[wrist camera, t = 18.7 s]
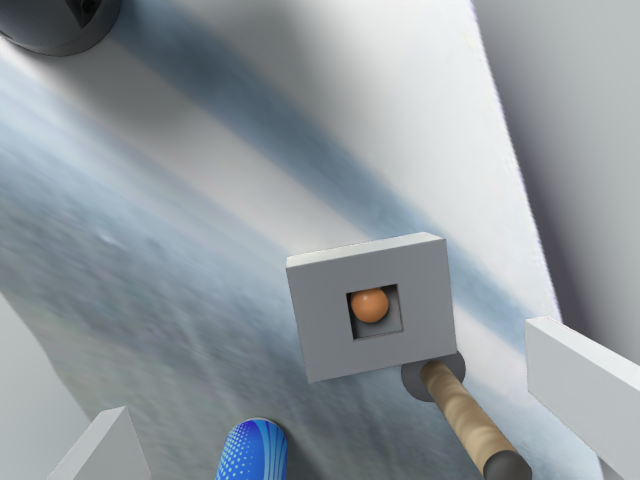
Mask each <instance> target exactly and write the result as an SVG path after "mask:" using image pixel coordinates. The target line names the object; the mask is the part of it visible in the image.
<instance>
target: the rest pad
mask: <svg viewBox="0 0 640 480" xmlns="http://www.w3.org/2000/svg"><path fill="white" fill-rule="evenodd" d="M434 360H437V361H441V362H443V363H444V364H445V365H446V366H447V367H448V369H449V370H450V371H451V372H452V373H453V375H454V376H455V377H456V378H457V379H458V381H459V382H460V383H461V384H462V382H463V380H464V377H465V371H466V369H465V362H464V359H463V357H462V355H461V354H460V353H459V352H458V351H457V353H455V354H450V355H445V356H440V357H436V358H431V359H426V360H421V361H416V362H411V363H406V364H403V366H402V372H401V375H402V381H403V384H404V386H405V387H406V389H407V391H408V392H409V393H410V394H411V395H412V396H413V397H415V398H416V399H418V400H421V401H425V402H435V401H434V399H433V398H432V396H431V395H430V393H429V392H428V390H427V388H426V387H425V385H424V384H423V382H422V381H421V378H420V372H421V369H422V367H423V366H424V365H425V364H426V363H428V362H430V361H434Z"/></svg>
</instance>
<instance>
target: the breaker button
mask: <svg viewBox="0 0 640 480" xmlns="http://www.w3.org/2000/svg"><path fill="white" fill-rule="evenodd" d="M350 304H351V307H352V309H353V312H354V314H355V315H356V317H357V318H358V319H360V320H361V321H364V322H376V321H378V320H380V319H381V318H382V317H383V316H384V315H385V314H386V312H387V310H388V299H387V297H386V295H385V294H384V292H383V291H382V290H381V289H380V288H379V287H376V288H371V289H366V290H360V291H355V292H352V294H351V297H350Z"/></svg>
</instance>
